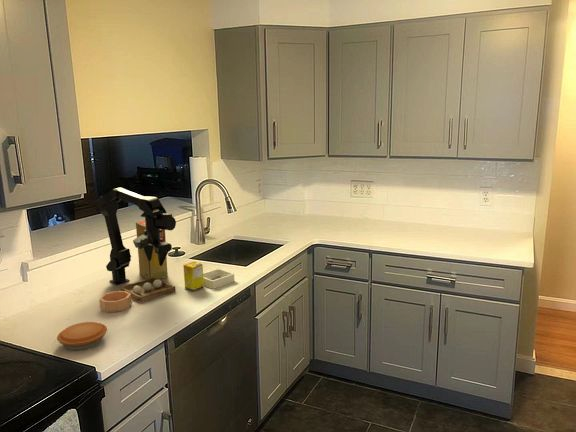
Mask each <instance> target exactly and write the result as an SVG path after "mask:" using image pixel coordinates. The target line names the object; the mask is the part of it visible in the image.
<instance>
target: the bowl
mask: <svg viewBox="0 0 576 432" xmlns="http://www.w3.org/2000/svg"><path fill="white" fill-rule="evenodd" d="M98 302H99V308H100V309H101V311H102V312H105V313H119V312H123V311H125V310H128V309H129V308H131V305H132V303H133V299H132V298H131V294H130V293H128V292H126V291H120V290H114V291H110V292H107V293H103V294H101V296H100V297H99V299H98Z"/></svg>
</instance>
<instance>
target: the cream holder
mask: <svg viewBox="0 0 576 432" xmlns="http://www.w3.org/2000/svg"><path fill="white" fill-rule="evenodd" d="M218 277H219V278H218ZM203 281H204V287H206V288H210V289H214V290H215V289H217V288H220V287H222V286H225V285H228V284H231V283H234V281H236V280H235V273H234V272H231V271H228V270H225V269H222V268H215V269H212V270H209V271H208V270H207V271H205V272H203Z"/></svg>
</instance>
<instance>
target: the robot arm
mask: <svg viewBox="0 0 576 432" xmlns="http://www.w3.org/2000/svg"><path fill="white" fill-rule="evenodd" d="M120 201H124V202H127V203H129V204H132V205H134V206H137V207H138V209H139V210H140V211H142V214H141V215H140V217H142V218H144V221H145V226H146V230H144V231H143V235H141V236H139V237H138V238H137V237H136V238H134V239H133V240H132V242H133V245H134V246H135V248H137V249H138V248H139V249H142V248H143V250H144V252H145V254H146V257H147V259H148V261H151V258H152V252H153V247H154V249H155V253H156V254H157V255H158V260H159V265H160V266H162V265H163V263H164V260H165V258H166V257H167V256H168V254H169V252H171V251H172V250H173V246H172V244H171V243H170V242H167V241H166V242H163V239H161V238H160V232H162V230H161V229H163V230H165V231H173V230H174V229H175V228H176V225H177V221H176V218H175V217H174V216H173V214H172V213H168V212H167V210H166V209H165V207H164V205H163V203H162V202H161V201H160V199H159V198H158V197H157V196H146V195H145V196H144V195H141V194H138V193H136V192H133V191H130V190H128V189H126V188H123V187H117V188H113V189H111V190H110V191H109V192H107V193H105V194H103V195H101V196H99V197H98V198H97V200H96V206H97V208H98V209H97V210H98V211H99V213H101V215H102V216H103V217H104V220H105V225H106V229H107V233H108V238H109V242H110V246H111V249H110V253H109V262H108V263H107V264H106V265H105V268H106V271H107V272H111V280H109V282H110V283H111V284H114V285H115V286H117V285H120V284H124V283H128V282H130V279H128V278H127V276H126V274H127V273H126V268H128V267H130V262H131V260H132V254H131V250H130V248H126V247H125V245H124V243H123V242H124V241H123V237H122V234H121V230H120V226H119V221H118V216H117V213H118V210H119V204H118V203H119V202H120ZM160 242H163V243H160Z"/></svg>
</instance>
